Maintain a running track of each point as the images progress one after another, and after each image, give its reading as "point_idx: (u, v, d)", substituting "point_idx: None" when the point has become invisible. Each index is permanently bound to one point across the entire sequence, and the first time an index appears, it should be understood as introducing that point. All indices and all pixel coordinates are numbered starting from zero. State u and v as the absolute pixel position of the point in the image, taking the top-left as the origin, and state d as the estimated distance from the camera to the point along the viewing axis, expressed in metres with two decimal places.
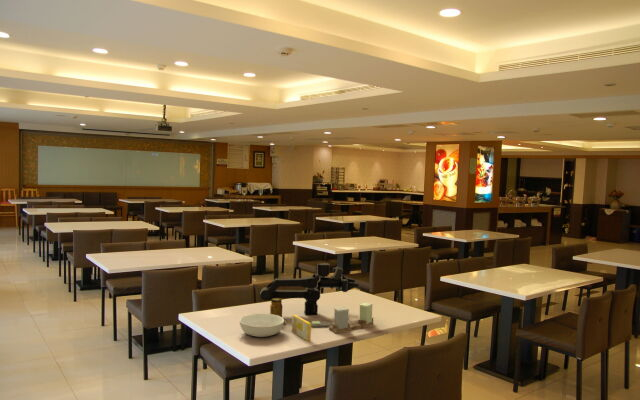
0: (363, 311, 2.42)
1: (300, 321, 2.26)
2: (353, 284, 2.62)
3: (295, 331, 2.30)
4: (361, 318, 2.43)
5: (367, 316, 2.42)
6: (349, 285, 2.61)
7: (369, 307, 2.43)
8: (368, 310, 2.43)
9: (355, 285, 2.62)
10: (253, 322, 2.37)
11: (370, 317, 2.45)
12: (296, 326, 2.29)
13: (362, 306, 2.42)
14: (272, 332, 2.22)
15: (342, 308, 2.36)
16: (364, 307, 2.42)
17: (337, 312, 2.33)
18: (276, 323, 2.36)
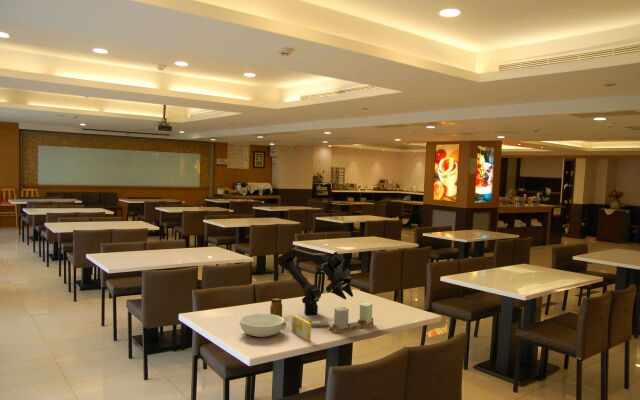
0: (363, 311, 2.42)
1: (300, 321, 2.26)
2: (341, 294, 2.48)
3: (295, 331, 2.30)
4: (361, 318, 2.43)
5: (367, 316, 2.42)
6: (338, 291, 2.49)
7: (369, 307, 2.43)
8: (368, 310, 2.43)
9: (342, 296, 2.48)
10: (253, 322, 2.37)
11: (370, 317, 2.45)
12: (296, 326, 2.29)
13: (362, 306, 2.42)
14: (272, 332, 2.22)
15: (342, 308, 2.36)
16: (364, 307, 2.42)
17: (337, 312, 2.33)
18: (276, 323, 2.36)
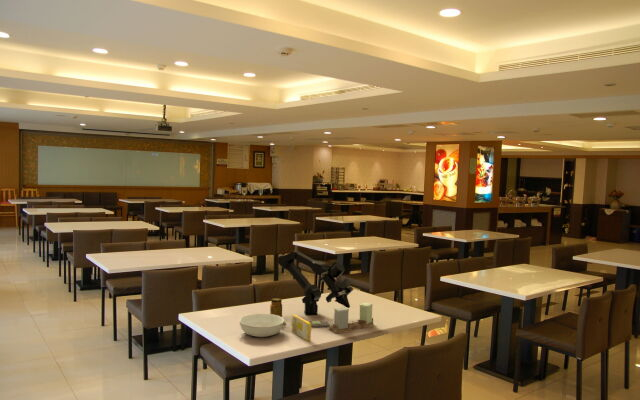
0: (363, 311, 2.42)
1: (300, 321, 2.26)
2: (344, 302, 2.50)
3: (295, 331, 2.30)
4: (361, 318, 2.43)
5: (367, 316, 2.42)
6: (341, 299, 2.51)
7: (369, 307, 2.43)
8: (368, 310, 2.43)
9: (345, 305, 2.50)
10: (253, 322, 2.37)
11: (370, 317, 2.45)
12: (296, 326, 2.29)
13: (362, 306, 2.42)
14: (272, 332, 2.22)
15: (342, 308, 2.36)
16: (364, 307, 2.42)
17: (337, 312, 2.33)
18: (276, 323, 2.36)
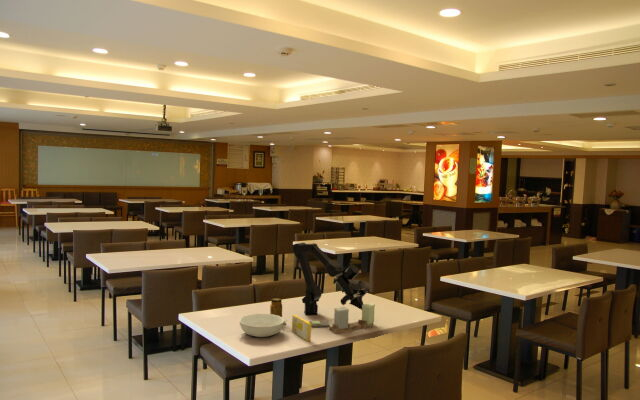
0: (365, 311, 2.42)
1: (300, 321, 2.26)
2: (359, 305, 2.45)
3: (295, 331, 2.30)
4: (363, 318, 2.42)
5: (369, 316, 2.41)
6: (356, 302, 2.46)
7: (371, 307, 2.42)
8: (370, 310, 2.42)
9: (360, 307, 2.45)
10: (253, 322, 2.37)
11: (372, 317, 2.44)
12: (296, 326, 2.29)
13: (364, 306, 2.42)
14: (272, 332, 2.22)
15: (342, 308, 2.36)
16: (366, 307, 2.41)
17: (337, 312, 2.33)
18: (276, 323, 2.36)
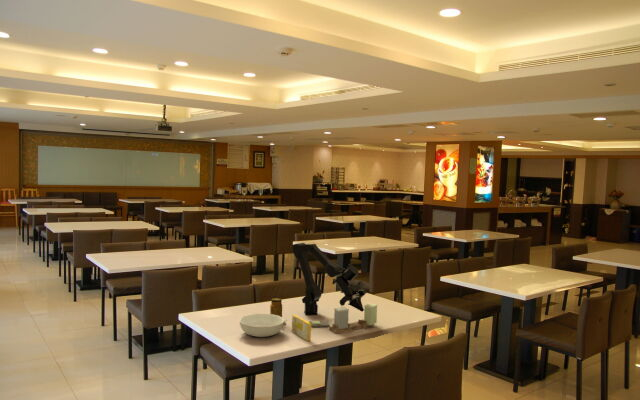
0: (367, 312, 2.41)
1: (300, 321, 2.26)
2: (358, 306, 2.46)
3: (295, 331, 2.30)
4: (366, 319, 2.42)
5: (372, 317, 2.40)
6: (355, 303, 2.47)
7: (374, 308, 2.42)
8: (373, 311, 2.41)
9: (359, 308, 2.46)
10: (253, 322, 2.37)
11: (375, 318, 2.43)
12: (296, 326, 2.29)
13: (367, 307, 2.41)
14: (272, 332, 2.22)
15: (342, 308, 2.36)
16: (369, 308, 2.40)
17: (337, 312, 2.33)
18: (276, 323, 2.36)
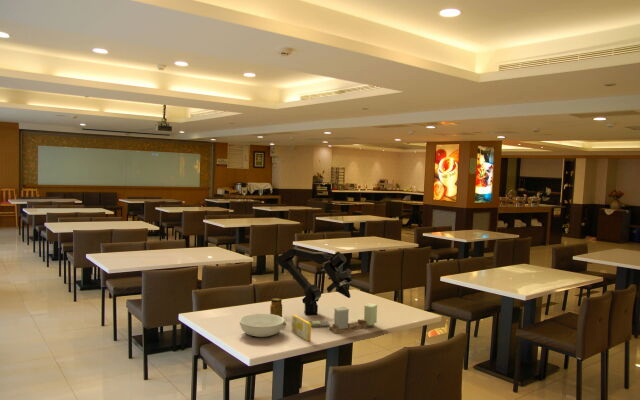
0: (367, 312, 2.41)
1: (300, 321, 2.26)
2: (345, 292, 2.52)
3: (295, 331, 2.30)
4: (366, 319, 2.42)
5: (372, 317, 2.40)
6: (342, 289, 2.53)
7: (374, 308, 2.42)
8: (373, 311, 2.41)
9: (346, 295, 2.52)
10: (253, 322, 2.37)
11: (375, 318, 2.43)
12: (296, 326, 2.29)
13: (367, 307, 2.41)
14: (272, 332, 2.22)
15: (342, 308, 2.36)
16: (369, 308, 2.40)
17: (337, 312, 2.33)
18: (276, 323, 2.36)
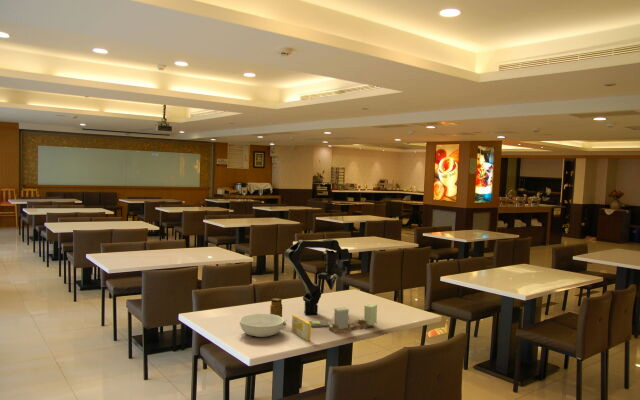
0: (367, 312, 2.41)
1: (300, 321, 2.26)
2: (330, 284, 2.69)
3: (295, 331, 2.30)
4: (366, 319, 2.42)
5: (372, 317, 2.40)
6: (329, 280, 2.69)
7: (374, 308, 2.42)
8: (373, 311, 2.41)
9: (329, 286, 2.69)
10: (253, 322, 2.37)
11: (375, 318, 2.43)
12: (296, 326, 2.29)
13: (367, 307, 2.41)
14: (272, 332, 2.22)
15: (342, 308, 2.36)
16: (369, 308, 2.40)
17: (337, 312, 2.33)
18: (276, 323, 2.36)
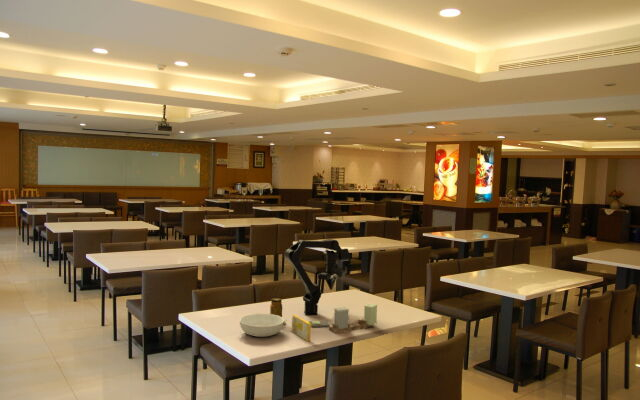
0: (367, 312, 2.41)
1: (300, 321, 2.26)
2: (330, 284, 2.69)
3: (295, 331, 2.30)
4: (366, 319, 2.42)
5: (372, 317, 2.40)
6: (329, 280, 2.69)
7: (374, 308, 2.42)
8: (373, 311, 2.41)
9: (329, 286, 2.70)
10: (253, 322, 2.37)
11: (375, 318, 2.43)
12: (296, 326, 2.29)
13: (367, 307, 2.41)
14: (272, 332, 2.22)
15: (342, 308, 2.36)
16: (369, 308, 2.40)
17: (337, 312, 2.33)
18: (276, 323, 2.36)
